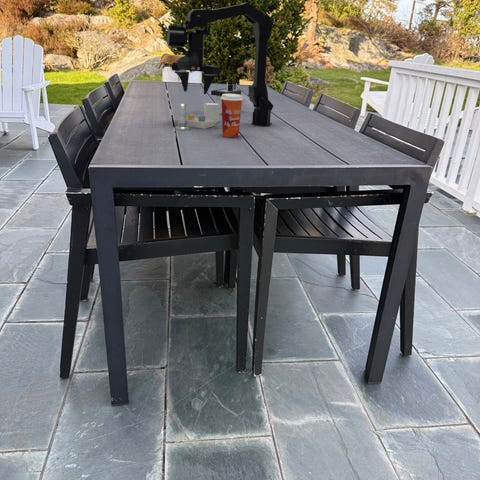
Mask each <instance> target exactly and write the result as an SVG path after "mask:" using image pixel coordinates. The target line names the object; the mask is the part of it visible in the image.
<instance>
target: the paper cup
mask: <svg viewBox="0 0 480 480" xmlns="http://www.w3.org/2000/svg"><path fill="white" fill-rule="evenodd" d="M221 99H222V114H221V123H222V124H221V126H222V128H221V129H222V130H221V131H222V136H223V137H224V138H231V137H234V138H238V137H239V132H240V123H241V114H242V113H241V112H242V105H243V100H244V98H243V96H242V94H241V95H239V94H222V97H221Z"/></svg>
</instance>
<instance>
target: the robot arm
mask: <svg viewBox="0 0 480 480" xmlns="http://www.w3.org/2000/svg"><path fill="white" fill-rule="evenodd" d="M240 16H243V17H244V18H245V20H247V22H249V23H250V24H251V25H252V29H253V37H254V40H255V52H254V54H255V56H254V71H253V82H252V84H251V85H248V87H247V88H248V94H247V96H248V98H249V101H250V102H251V103H252V105H253V111H252V118H251V120H252V121H251V125H254V126H262V127H267V126H271V125H272V122H271V115H272V114H271V113H272V110H273V107H274V104H273V103H272V102H271V101H270V99H269V91H268V88H267V83H266V75H267V61H268V46H269V45H268V43H269V41H270V37H271V36H272V33H273V26H274V20H273V19H272V17H271V16H270V15H266V14H264V13H263V12H262V11H260V10H259V9H257V8H256V7H254V6H253V5H252V4H251V3H250V2H242V3H239V4H234V5H229V6H224V7H219V8H213V9H212V8H211V9H209V8H207V9H206V8H196V9H192V10H189V12H188V13H187V16H186V20H185V22H184V23H183V24H182V26H174V25H169V24H168V25H167V35H166V45H167V47H173V48H174V47H175V48H185V45H187V46H188V47H187V50H185V54H184V55H183V56H181V57H180V58H179V59H177V61H173V62H172V64H171V71H173V72H174V74H176V75H177V76H178V78H179V80H180V83H181V85H182V89H183V91H184V92H185V93H186V92H188V87H189V79H190V72H191V71H194V72H202V73H203V74H202V75H201V76H202V79H203V94H204V95H207V94H208V91H209V89H210V87H211V85H212V83H213V81H214V80H215V78H217V77H218V75H221V68H220V66H218V65H210V64H209V65H206V63H204V60H205V59H204V58H205V57H204V55H206V54H207V52H206V50H205V49H204V48H205V36H210V35H211V34H210V32H209V31H208V30H207V28H206V27H204V26H207V25H209V24H211V23H213V22H215V21H220V20H224V19H229V18H234V17H235V18H236V17H240ZM202 27H203V28H202ZM197 28H202V29H197ZM188 30H189V31H188ZM192 30H193V31H192ZM190 31H191V32H190ZM189 71H190V72H189Z"/></svg>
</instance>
